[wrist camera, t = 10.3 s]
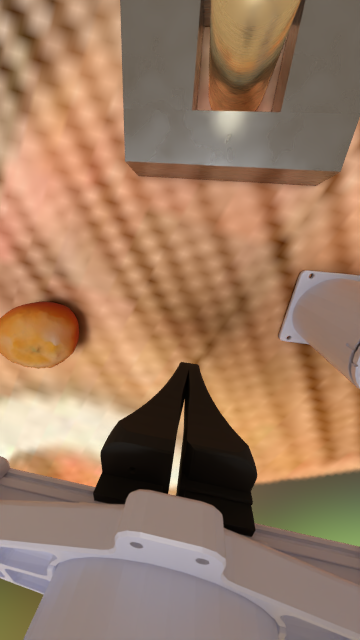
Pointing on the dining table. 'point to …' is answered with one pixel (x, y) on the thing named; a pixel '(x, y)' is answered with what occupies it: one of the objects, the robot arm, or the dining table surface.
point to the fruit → (38, 334)
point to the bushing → (245, 49)
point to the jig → (239, 126)
